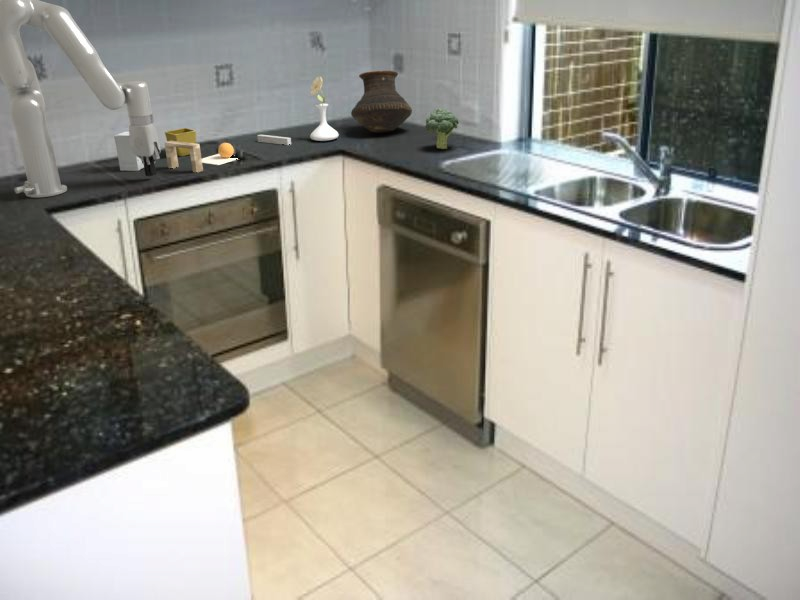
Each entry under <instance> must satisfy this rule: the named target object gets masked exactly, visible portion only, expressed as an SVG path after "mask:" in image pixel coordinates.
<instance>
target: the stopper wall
mask: <svg viewBox="0 0 800 600" xmlns="http://www.w3.org/2000/svg"><path fill="white" fill-rule="evenodd" d="M256 135H257V136H256V137H257V142H258V143H265V144H275V145H282V144H284V146H290V145H292V138H291V137H288V136H287V137H286V136H280V135H279V136H277V135H268V134H267V135H266V134H256ZM289 144H290V145H289Z"/></svg>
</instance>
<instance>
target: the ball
mask: <svg viewBox="0 0 800 600" xmlns="http://www.w3.org/2000/svg"><path fill="white" fill-rule="evenodd" d="M234 152H235V149H234V147H233V145H232V144H231V143H229V142H223V143H221V144H220V145H219V146H218V149H217V153H218V154H220V156H221V157H223V158H230V157H231V156H232V155H234Z"/></svg>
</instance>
